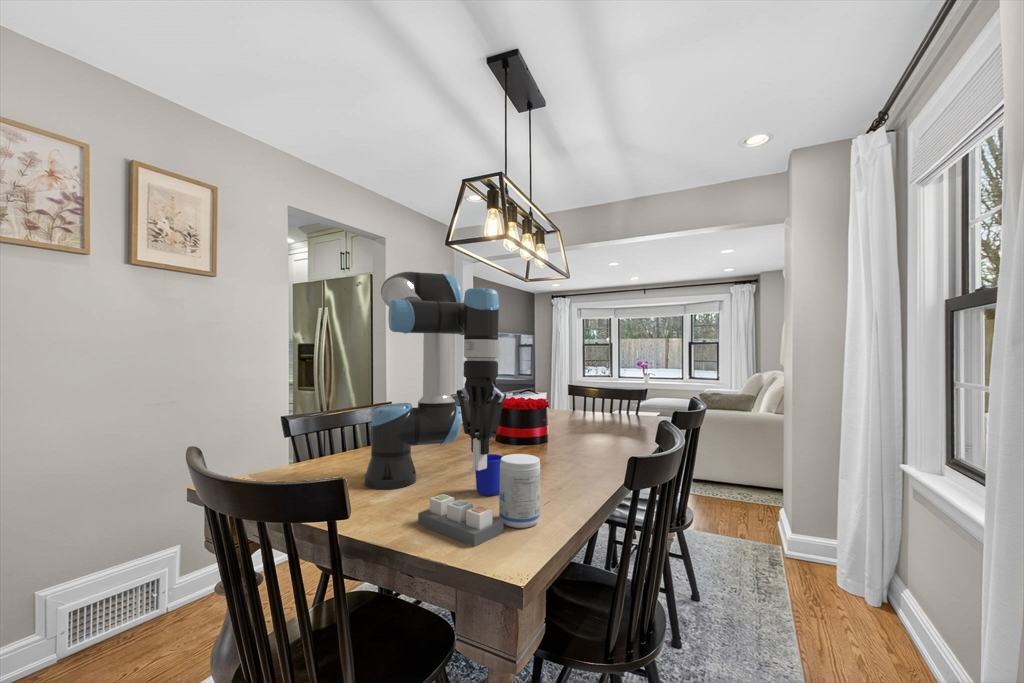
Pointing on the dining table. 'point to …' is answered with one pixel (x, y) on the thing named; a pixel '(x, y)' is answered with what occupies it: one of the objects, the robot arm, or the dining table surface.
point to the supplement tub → (519, 490)
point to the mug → (489, 476)
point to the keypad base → (459, 528)
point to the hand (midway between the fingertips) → (479, 468)
